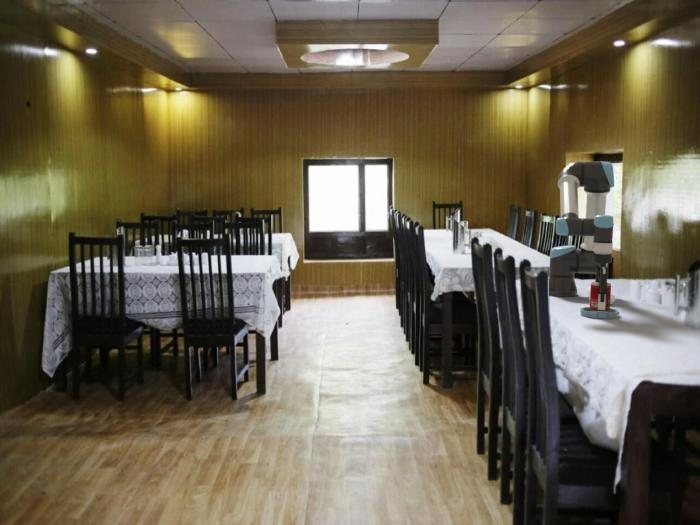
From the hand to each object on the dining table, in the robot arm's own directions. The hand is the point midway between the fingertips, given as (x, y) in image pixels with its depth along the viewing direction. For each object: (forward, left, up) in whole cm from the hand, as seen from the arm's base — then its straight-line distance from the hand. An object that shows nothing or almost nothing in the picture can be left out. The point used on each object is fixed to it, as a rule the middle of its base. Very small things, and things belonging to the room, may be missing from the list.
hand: (599, 307), depth 319 cm
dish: (0, 0, -3) cm, 3 cm away
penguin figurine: (-28, +5, -3) cm, 29 cm away
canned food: (0, 0, -1) cm, 1 cm away
